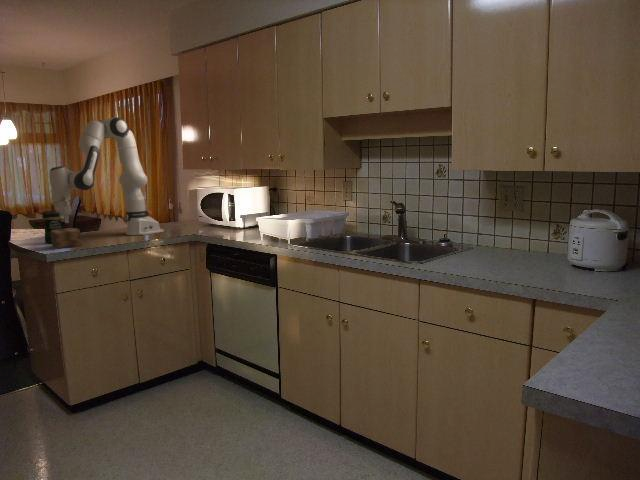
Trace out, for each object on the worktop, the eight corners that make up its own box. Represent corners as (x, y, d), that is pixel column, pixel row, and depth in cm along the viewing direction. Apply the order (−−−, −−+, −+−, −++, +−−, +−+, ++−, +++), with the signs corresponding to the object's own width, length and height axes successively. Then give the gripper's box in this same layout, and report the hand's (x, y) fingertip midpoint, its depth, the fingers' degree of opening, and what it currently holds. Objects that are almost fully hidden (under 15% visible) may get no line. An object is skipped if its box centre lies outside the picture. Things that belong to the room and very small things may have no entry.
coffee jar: (46, 244, 286) (42, 212, 283) (44, 242, 293) (40, 211, 290) (65, 242, 292) (61, 210, 289) (62, 240, 298) (58, 209, 295)
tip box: (76, 243, 286) (74, 227, 284) (81, 246, 276) (79, 229, 275) (52, 246, 278) (50, 230, 277) (57, 249, 269) (55, 232, 267)
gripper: (72, 197, 267) (75, 222, 269) (63, 195, 282) (66, 220, 285) (59, 198, 263) (62, 224, 265) (50, 196, 279) (54, 221, 281)
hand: (64, 222), depth 275 cm, fingers open, 8 cm apart
